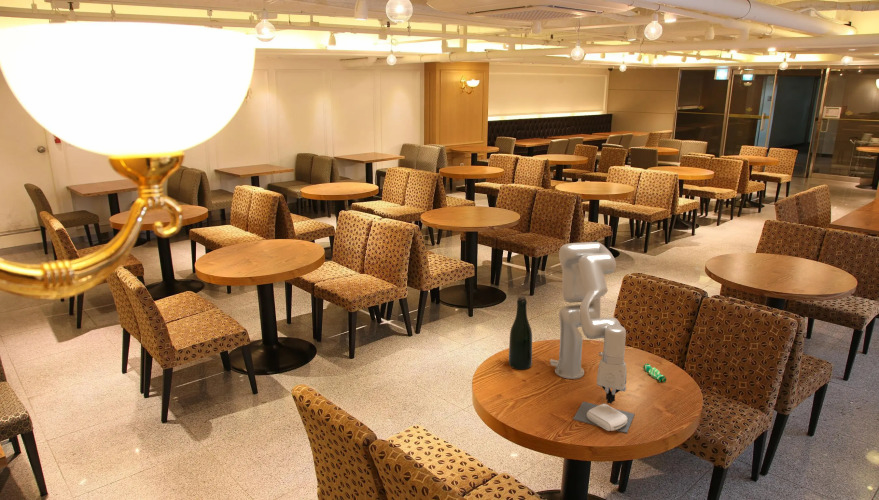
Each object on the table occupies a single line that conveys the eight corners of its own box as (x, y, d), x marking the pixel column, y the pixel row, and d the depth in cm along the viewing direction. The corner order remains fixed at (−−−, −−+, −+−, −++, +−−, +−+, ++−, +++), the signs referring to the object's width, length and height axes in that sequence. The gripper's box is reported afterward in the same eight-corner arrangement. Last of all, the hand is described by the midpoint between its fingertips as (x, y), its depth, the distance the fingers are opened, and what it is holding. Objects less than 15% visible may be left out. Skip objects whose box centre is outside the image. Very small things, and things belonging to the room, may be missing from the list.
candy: (641, 369, 261) (646, 361, 260) (646, 372, 262) (652, 364, 261) (657, 382, 249) (662, 374, 249) (662, 385, 251) (668, 377, 250)
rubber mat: (573, 419, 224) (573, 418, 224) (583, 402, 236) (583, 401, 236) (627, 433, 215) (627, 432, 215) (634, 414, 227) (634, 413, 227)
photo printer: (605, 401, 227) (631, 416, 217) (604, 411, 228) (630, 426, 218) (586, 409, 222) (611, 424, 212) (585, 419, 223) (611, 435, 213)
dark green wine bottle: (504, 366, 266) (505, 298, 257) (515, 357, 275) (516, 291, 265) (525, 372, 261) (527, 303, 251) (535, 363, 269) (538, 295, 260)
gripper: (590, 357, 218) (587, 401, 223) (632, 366, 211) (628, 411, 216) (595, 349, 224) (593, 392, 229) (636, 357, 217) (632, 402, 222)
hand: (610, 401), depth 222 cm, fingers closed
